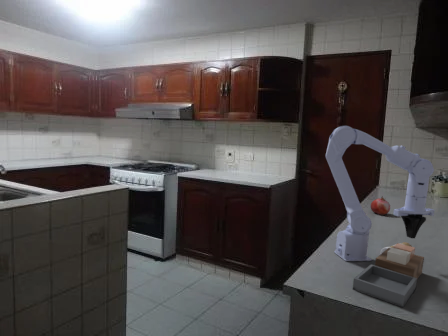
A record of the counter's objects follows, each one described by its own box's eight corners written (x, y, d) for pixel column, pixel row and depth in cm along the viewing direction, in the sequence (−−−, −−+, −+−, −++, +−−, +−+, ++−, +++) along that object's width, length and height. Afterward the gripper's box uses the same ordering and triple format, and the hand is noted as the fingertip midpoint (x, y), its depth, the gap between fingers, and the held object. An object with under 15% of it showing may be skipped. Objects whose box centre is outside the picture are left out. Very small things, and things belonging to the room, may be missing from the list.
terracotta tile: (396, 250, 105) (397, 243, 104) (414, 255, 101) (415, 247, 101) (392, 254, 101) (393, 246, 101) (410, 259, 98) (411, 251, 97)
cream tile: (391, 255, 100) (392, 247, 100) (409, 260, 97) (410, 252, 97) (386, 259, 96) (387, 251, 96) (405, 265, 93) (406, 256, 93)
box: (369, 273, 98) (370, 264, 97) (415, 288, 90) (417, 278, 90) (352, 289, 87) (353, 278, 87) (402, 307, 79) (404, 295, 79)
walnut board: (386, 262, 108) (388, 247, 107) (421, 272, 101) (424, 257, 101) (373, 274, 98) (375, 258, 97) (411, 286, 91) (414, 269, 90)
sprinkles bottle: (397, 247, 119) (376, 253, 111) (406, 239, 116) (385, 244, 108) (407, 257, 116) (386, 264, 108) (416, 250, 114) (396, 256, 106)
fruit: (370, 210, 183) (372, 193, 182) (389, 213, 179) (391, 195, 178) (369, 214, 175) (371, 195, 174) (389, 217, 171) (391, 198, 170)
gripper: (423, 193, 111) (417, 232, 112) (388, 193, 106) (383, 234, 108) (442, 197, 104) (436, 239, 106) (405, 198, 100) (400, 241, 101)
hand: (410, 237), depth 106 cm, fingers closed
